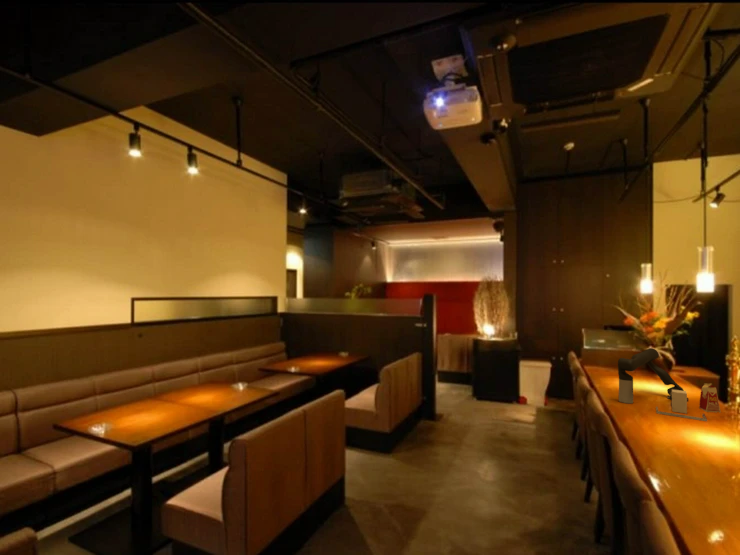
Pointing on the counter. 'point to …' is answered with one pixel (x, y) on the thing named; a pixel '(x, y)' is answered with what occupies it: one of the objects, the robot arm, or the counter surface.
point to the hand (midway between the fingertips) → (678, 401)
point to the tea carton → (679, 401)
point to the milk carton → (709, 399)
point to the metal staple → (681, 415)
